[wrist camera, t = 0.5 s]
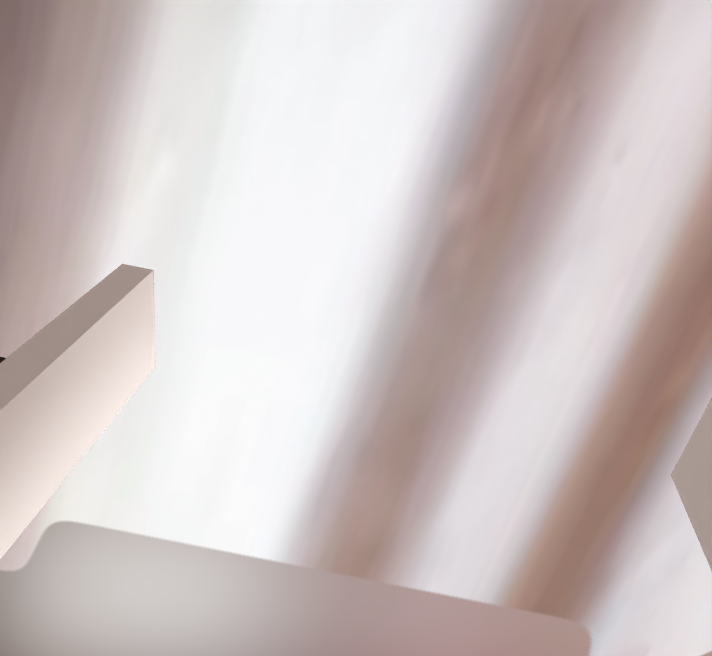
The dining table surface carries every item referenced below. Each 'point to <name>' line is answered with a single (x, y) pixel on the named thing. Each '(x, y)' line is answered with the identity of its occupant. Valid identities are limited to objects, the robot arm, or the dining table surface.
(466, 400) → the dining table surface
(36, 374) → the robot arm
